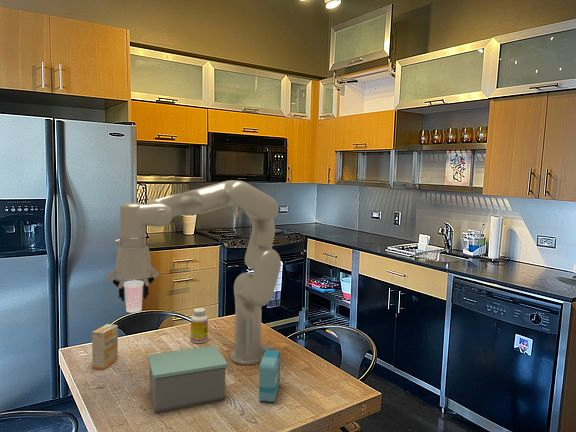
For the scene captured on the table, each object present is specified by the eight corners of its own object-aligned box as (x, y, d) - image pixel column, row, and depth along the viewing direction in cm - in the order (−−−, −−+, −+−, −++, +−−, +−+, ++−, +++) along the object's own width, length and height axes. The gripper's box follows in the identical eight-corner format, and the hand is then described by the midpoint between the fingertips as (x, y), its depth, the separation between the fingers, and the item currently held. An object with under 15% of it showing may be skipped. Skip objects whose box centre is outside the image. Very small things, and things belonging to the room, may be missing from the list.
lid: (215, 348, 141) (215, 345, 141) (227, 367, 128) (227, 363, 128) (147, 357, 132) (147, 354, 132) (153, 378, 119) (153, 375, 119)
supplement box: (104, 370, 146) (104, 332, 145) (91, 368, 147) (91, 331, 145) (118, 360, 154) (118, 324, 153) (106, 358, 155) (106, 323, 154)
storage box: (213, 379, 142) (213, 350, 141) (224, 400, 129) (225, 368, 128) (149, 390, 133) (149, 359, 132) (155, 413, 121) (155, 379, 120)
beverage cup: (136, 306, 141) (135, 264, 140) (148, 309, 138) (147, 266, 136) (119, 310, 136) (118, 267, 135) (131, 314, 133) (130, 270, 131)
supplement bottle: (205, 344, 170) (206, 312, 169) (188, 343, 170) (189, 312, 169) (209, 337, 177) (209, 307, 176) (192, 337, 177) (193, 306, 176)
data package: (273, 404, 128) (274, 365, 126) (258, 402, 128) (259, 364, 127) (279, 384, 139) (280, 349, 138) (265, 383, 140) (266, 348, 139)
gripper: (103, 245, 128) (104, 305, 130) (163, 243, 135) (163, 299, 137) (102, 241, 135) (104, 298, 136) (160, 239, 142) (160, 293, 143)
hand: (133, 298), depth 136 cm, fingers closed on beverage cup, 6 cm apart
